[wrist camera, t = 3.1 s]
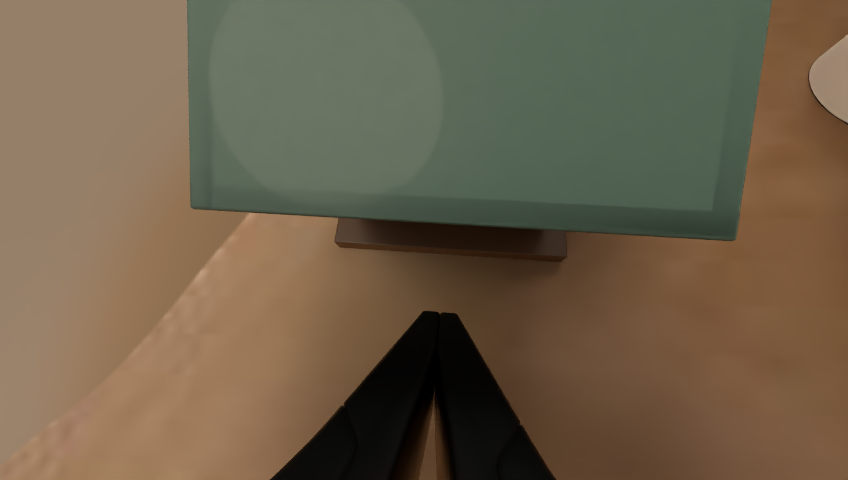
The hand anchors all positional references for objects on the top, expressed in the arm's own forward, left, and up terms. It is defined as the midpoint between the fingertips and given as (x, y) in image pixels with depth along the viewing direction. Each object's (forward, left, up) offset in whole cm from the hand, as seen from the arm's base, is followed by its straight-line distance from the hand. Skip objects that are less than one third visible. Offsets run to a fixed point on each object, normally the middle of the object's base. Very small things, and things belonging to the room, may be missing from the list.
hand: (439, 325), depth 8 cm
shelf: (+9, -3, -7) cm, 12 cm away
